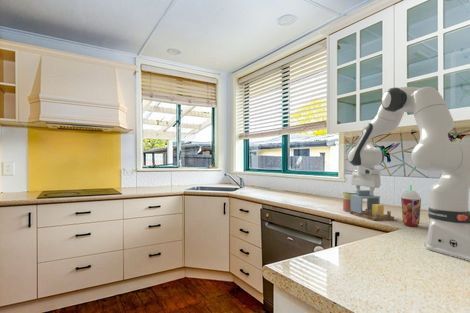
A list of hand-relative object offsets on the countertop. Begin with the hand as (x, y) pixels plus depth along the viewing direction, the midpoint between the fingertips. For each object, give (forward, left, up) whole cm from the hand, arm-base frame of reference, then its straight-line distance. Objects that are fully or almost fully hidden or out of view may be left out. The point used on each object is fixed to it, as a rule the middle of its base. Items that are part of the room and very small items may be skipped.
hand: (364, 193), depth 157 cm
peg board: (-5, 0, -12) cm, 13 cm away
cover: (0, 0, -10) cm, 10 cm away
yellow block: (-10, 0, -11) cm, 15 cm away
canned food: (+12, -1, -12) cm, 17 cm away
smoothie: (-27, -4, -12) cm, 30 cm away
